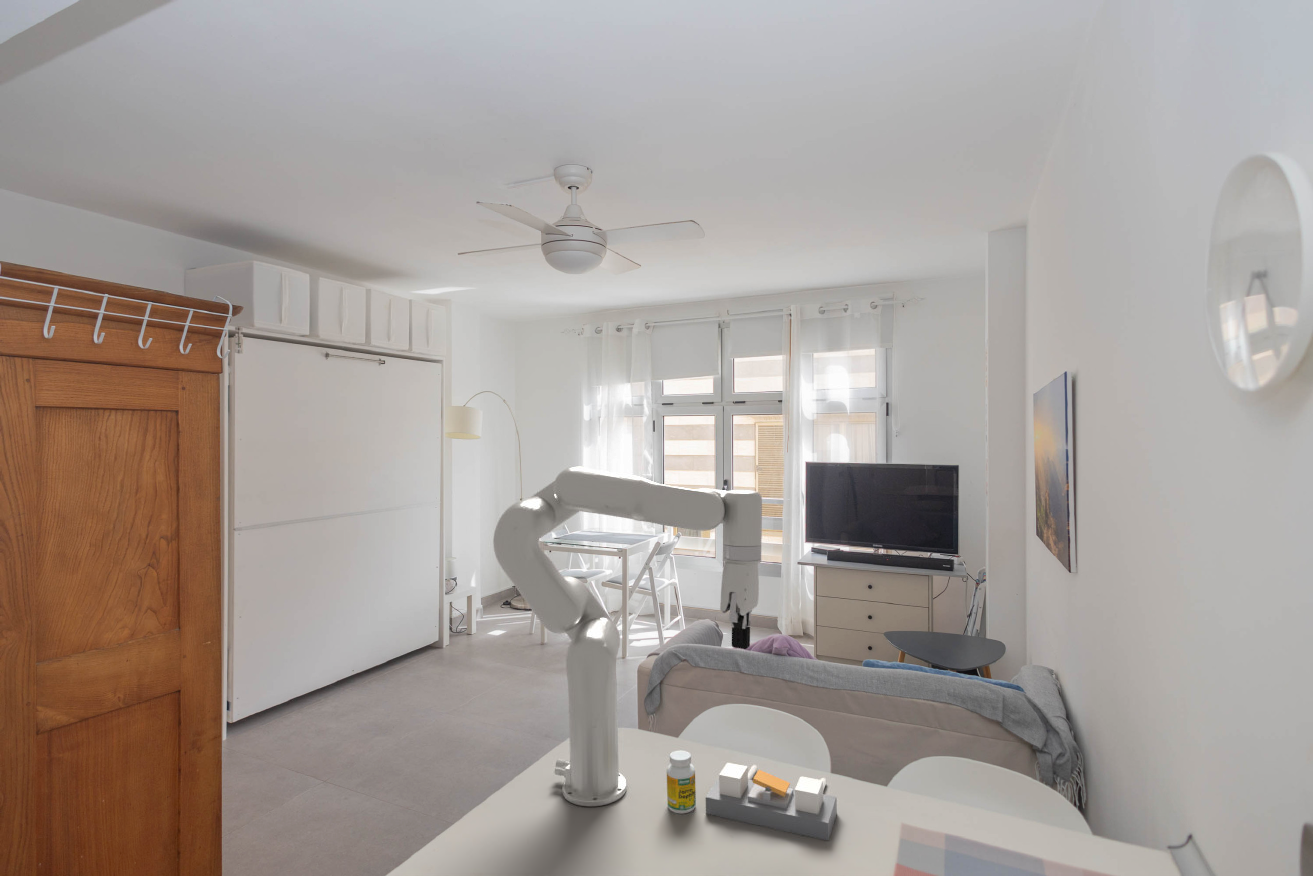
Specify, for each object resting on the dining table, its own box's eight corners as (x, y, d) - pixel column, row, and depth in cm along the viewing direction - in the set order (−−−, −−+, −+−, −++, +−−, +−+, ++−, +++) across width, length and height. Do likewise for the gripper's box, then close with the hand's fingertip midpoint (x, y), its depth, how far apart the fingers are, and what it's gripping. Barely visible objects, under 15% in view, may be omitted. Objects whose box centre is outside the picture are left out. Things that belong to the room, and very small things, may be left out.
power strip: (705, 813, 120) (705, 777, 120) (736, 766, 137) (736, 735, 137) (828, 841, 111) (827, 802, 111) (844, 786, 128) (844, 753, 128)
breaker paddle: (751, 785, 119) (753, 779, 119) (757, 775, 122) (758, 768, 122) (783, 800, 116) (785, 793, 116) (788, 789, 120) (790, 782, 120)
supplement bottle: (684, 796, 126) (683, 745, 126) (701, 808, 121) (700, 756, 122) (661, 804, 123) (660, 753, 123) (678, 818, 118) (677, 764, 119)
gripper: (736, 546, 137) (735, 635, 136) (710, 557, 123) (708, 655, 123) (771, 549, 133) (770, 640, 133) (748, 560, 120) (746, 661, 120)
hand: (740, 647), depth 128 cm, fingers closed
